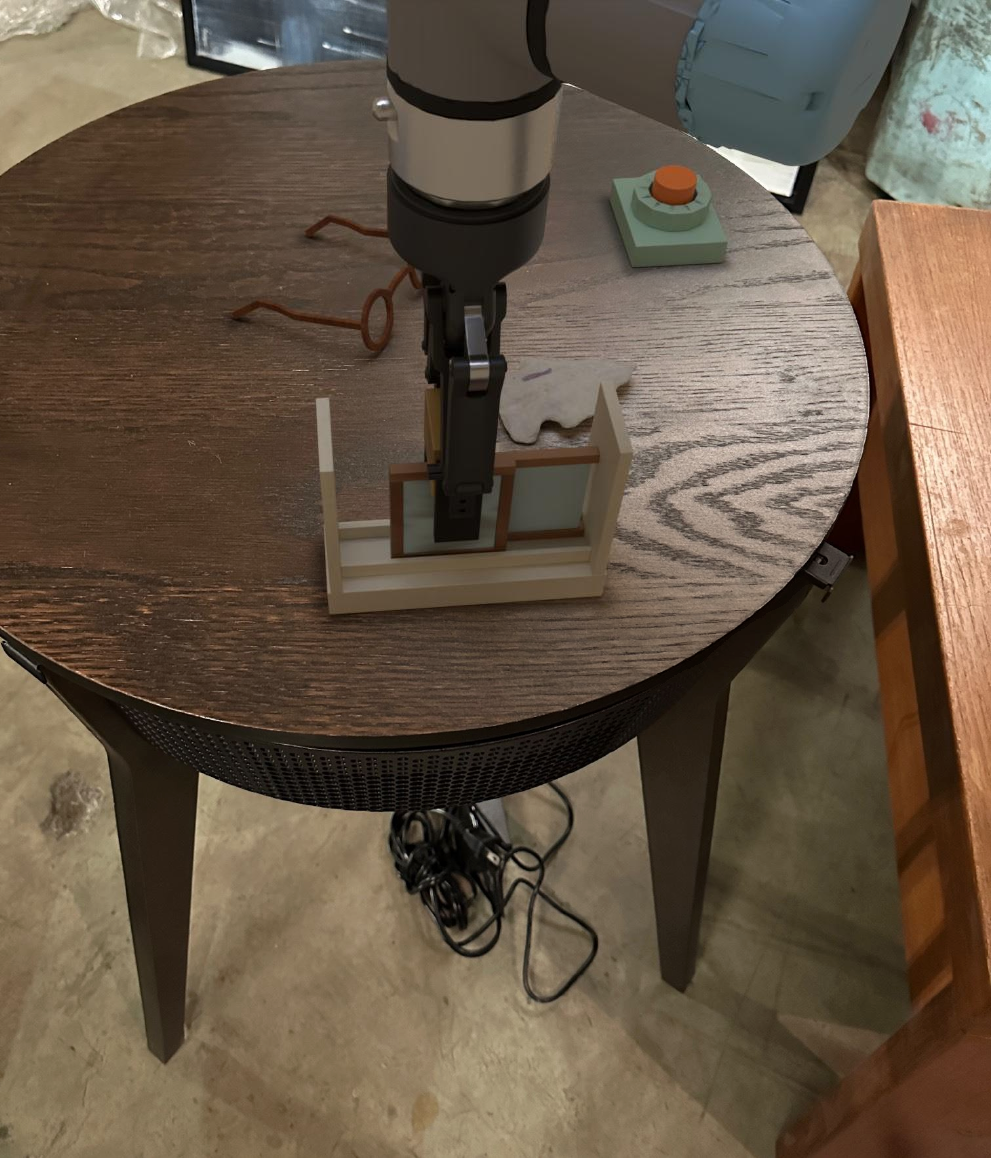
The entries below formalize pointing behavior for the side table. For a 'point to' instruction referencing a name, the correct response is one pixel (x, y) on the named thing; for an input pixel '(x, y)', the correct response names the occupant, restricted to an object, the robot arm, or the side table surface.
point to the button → (674, 185)
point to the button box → (666, 225)
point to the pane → (417, 498)
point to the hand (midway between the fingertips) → (450, 500)
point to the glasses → (368, 304)
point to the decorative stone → (555, 393)
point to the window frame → (535, 536)
